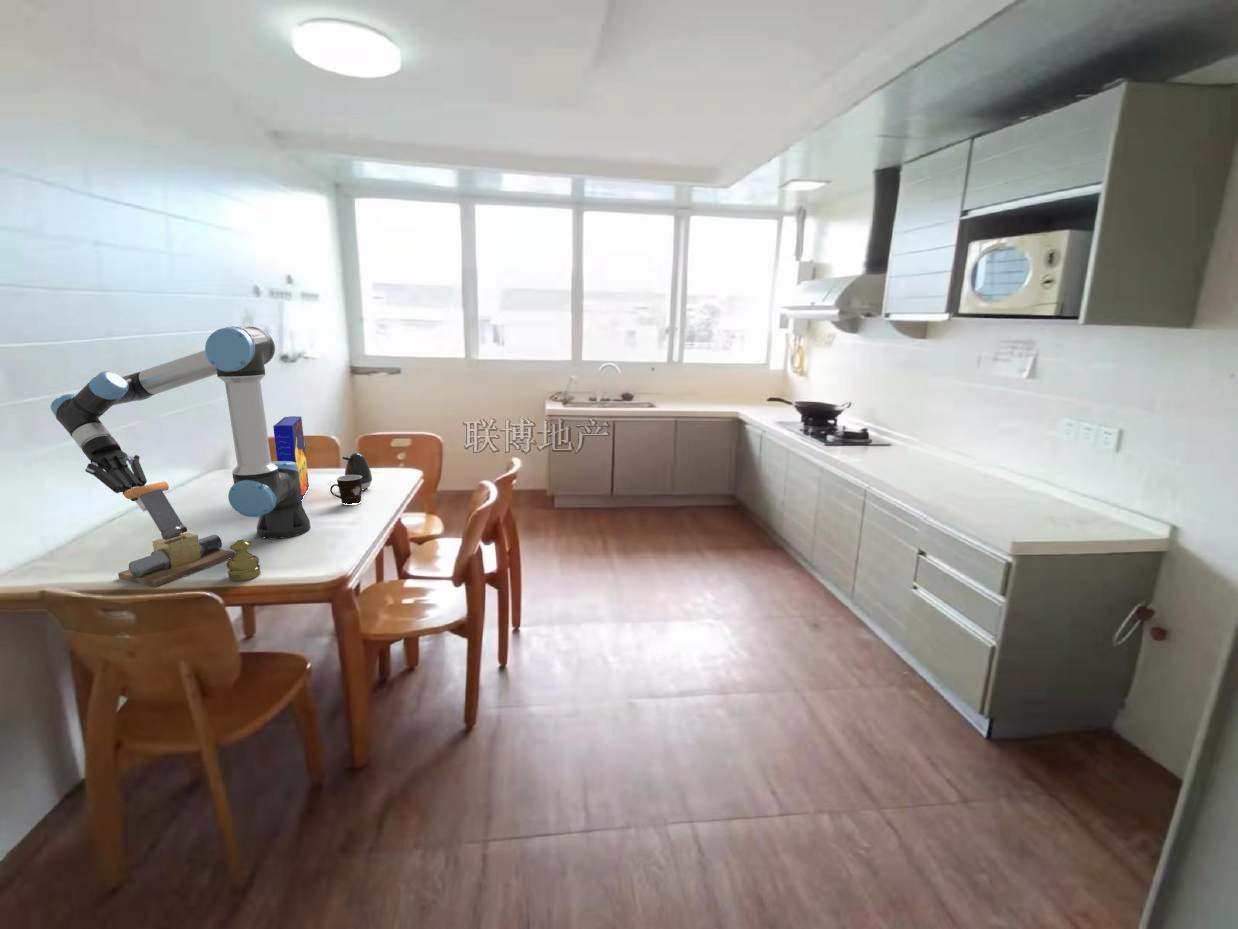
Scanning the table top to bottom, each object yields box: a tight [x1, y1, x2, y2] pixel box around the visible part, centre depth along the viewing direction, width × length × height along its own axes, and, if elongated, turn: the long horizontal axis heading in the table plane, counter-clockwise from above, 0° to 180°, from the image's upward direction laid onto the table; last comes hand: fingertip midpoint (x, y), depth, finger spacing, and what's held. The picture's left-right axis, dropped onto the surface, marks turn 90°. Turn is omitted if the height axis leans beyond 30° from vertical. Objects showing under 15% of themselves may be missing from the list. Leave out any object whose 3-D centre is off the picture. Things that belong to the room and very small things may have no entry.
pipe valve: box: [117, 532, 236, 588], centre depth 164 cm, size 14×22×8 cm, turn 160°
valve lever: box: [123, 481, 188, 540], centre depth 162 cm, size 3×10×16 cm
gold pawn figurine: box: [226, 539, 261, 582], centre depth 159 cm, size 7×7×10 cm
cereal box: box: [273, 415, 310, 500], centre depth 228 cm, size 22×6×30 cm, turn 19°
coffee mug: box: [329, 474, 362, 504], centre depth 223 cm, size 12×9×10 cm
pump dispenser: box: [342, 452, 373, 490], centre depth 242 cm, size 10×10×15 cm
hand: (147, 507), depth 165 cm, fingers closed
